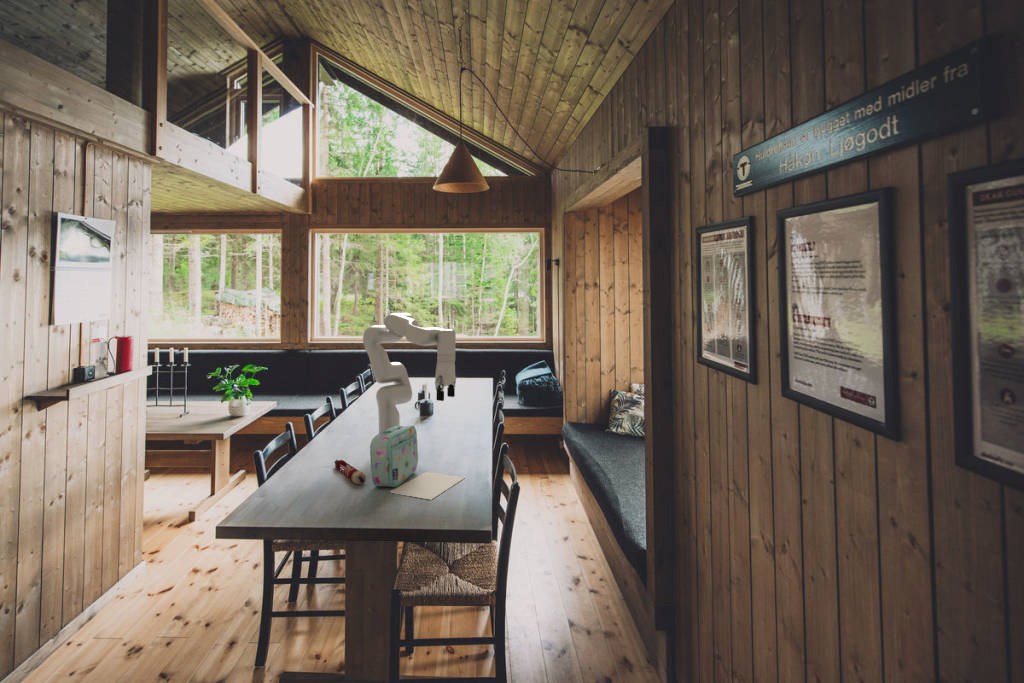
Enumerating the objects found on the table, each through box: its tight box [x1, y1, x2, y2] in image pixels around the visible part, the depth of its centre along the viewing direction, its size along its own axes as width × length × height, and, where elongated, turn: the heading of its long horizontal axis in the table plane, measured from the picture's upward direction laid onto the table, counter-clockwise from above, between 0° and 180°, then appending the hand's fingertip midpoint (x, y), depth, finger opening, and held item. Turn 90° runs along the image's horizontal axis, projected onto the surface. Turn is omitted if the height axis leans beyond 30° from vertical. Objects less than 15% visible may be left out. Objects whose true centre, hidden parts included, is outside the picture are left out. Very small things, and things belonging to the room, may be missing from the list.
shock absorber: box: [334, 459, 367, 485], centre depth 212 cm, size 5×5×30 cm
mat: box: [389, 471, 465, 501], centre depth 203 cm, size 18×26×1 cm
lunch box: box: [369, 425, 419, 488], centre depth 208 cm, size 27×10×21 cm, turn 168°
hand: (445, 398), depth 223 cm, fingers open, 9 cm apart
